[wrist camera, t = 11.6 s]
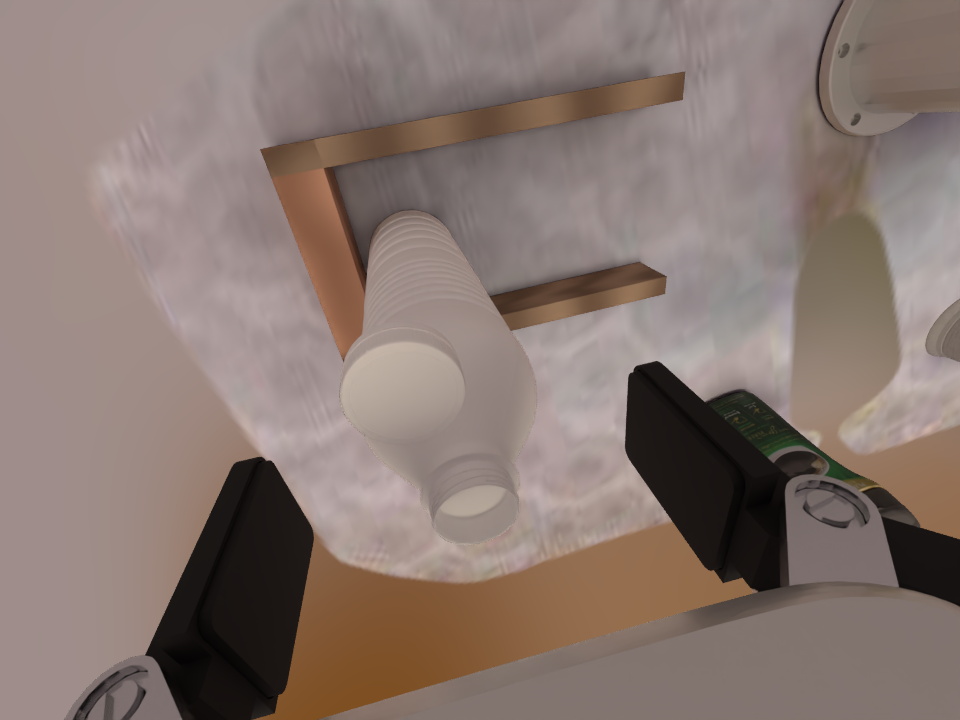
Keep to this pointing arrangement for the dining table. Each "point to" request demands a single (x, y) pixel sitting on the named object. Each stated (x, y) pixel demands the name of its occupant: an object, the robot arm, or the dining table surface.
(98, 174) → the dining table surface
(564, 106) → the channel
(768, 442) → the coffee jar
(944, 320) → the glass holder
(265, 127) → the dining table surface
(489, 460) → the water bottle
